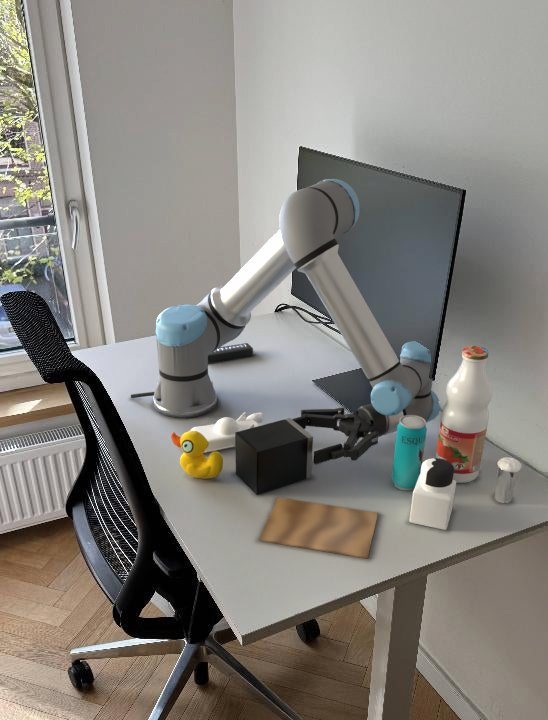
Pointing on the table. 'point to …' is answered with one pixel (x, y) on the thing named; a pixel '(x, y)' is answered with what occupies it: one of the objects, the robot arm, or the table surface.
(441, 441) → the fruit juice
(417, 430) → the beverage can
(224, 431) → the white piece
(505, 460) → the milkshake
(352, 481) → the table surface
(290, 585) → the table surface
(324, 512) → the wooden board
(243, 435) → the desk bin
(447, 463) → the medicine bottle
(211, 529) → the table surface
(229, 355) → the multiport hub
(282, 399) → the table surface
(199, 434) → the duckling
